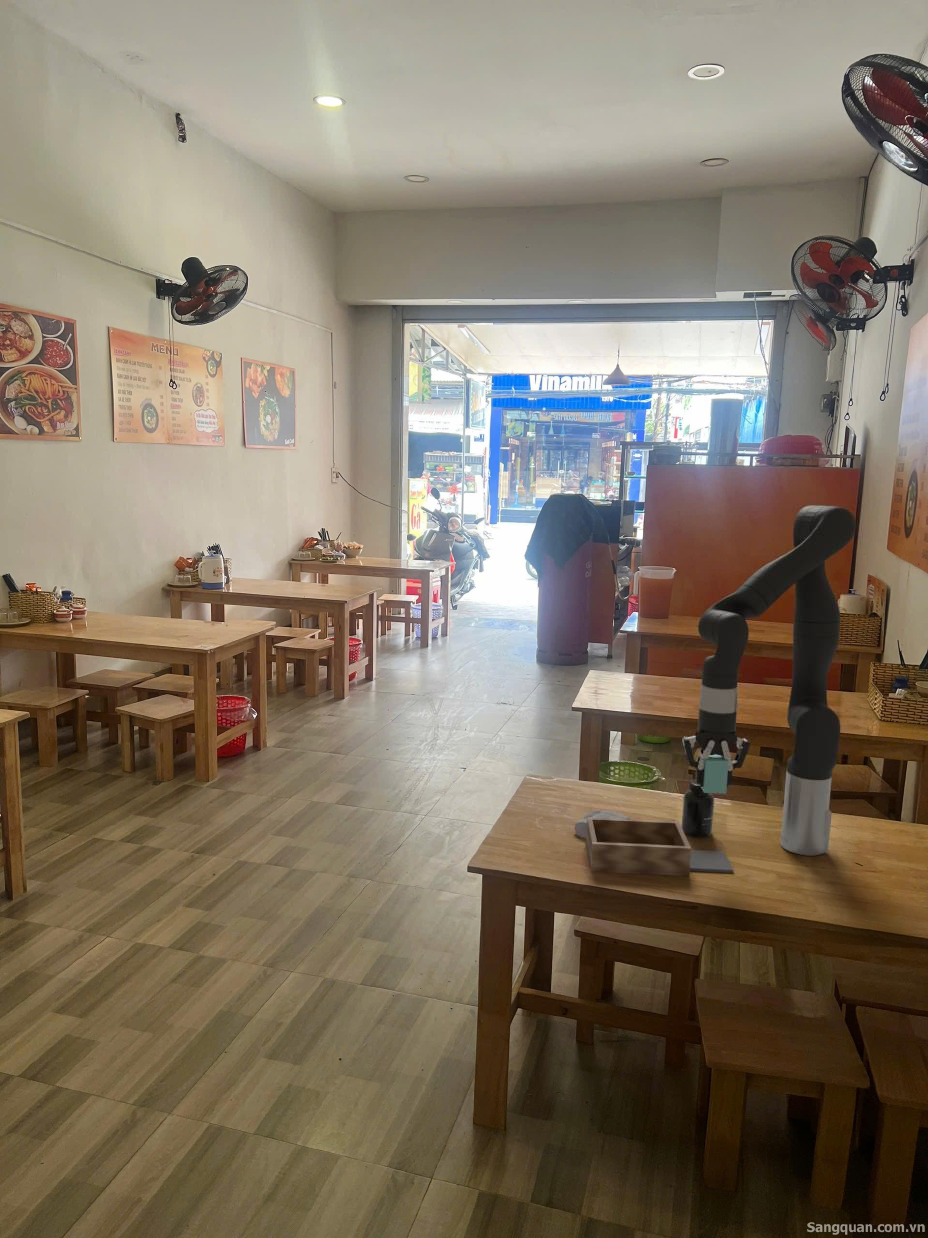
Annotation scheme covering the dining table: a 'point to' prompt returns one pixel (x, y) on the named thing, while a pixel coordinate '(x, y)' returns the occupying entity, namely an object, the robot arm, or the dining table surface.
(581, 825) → the stone block
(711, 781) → the block
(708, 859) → the mat
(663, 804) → the dining table surface
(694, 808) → the supplement bottle
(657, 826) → the crate
